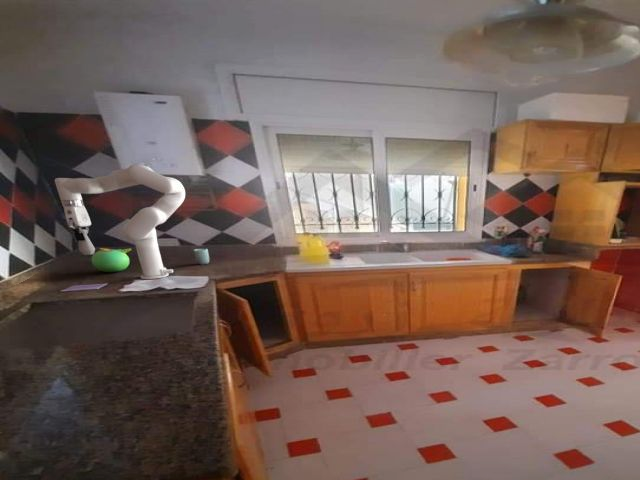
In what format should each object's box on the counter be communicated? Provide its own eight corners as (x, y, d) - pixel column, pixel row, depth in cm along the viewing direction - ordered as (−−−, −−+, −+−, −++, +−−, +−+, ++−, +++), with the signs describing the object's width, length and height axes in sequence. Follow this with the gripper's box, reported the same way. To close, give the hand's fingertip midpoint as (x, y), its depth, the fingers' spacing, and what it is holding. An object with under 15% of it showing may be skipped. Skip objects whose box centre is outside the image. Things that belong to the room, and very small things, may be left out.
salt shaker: (85, 255, 165) (77, 230, 161) (77, 254, 166) (69, 229, 162) (99, 253, 170) (91, 229, 166) (91, 252, 171) (83, 228, 167)
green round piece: (90, 273, 188) (82, 248, 184) (125, 267, 203) (118, 244, 198) (104, 276, 181) (96, 251, 176) (140, 270, 195) (133, 246, 191)
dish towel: (107, 284, 166) (107, 283, 166) (97, 289, 158) (96, 288, 157) (73, 286, 162) (72, 285, 162) (60, 292, 153) (59, 291, 153)
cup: (212, 263, 215) (209, 249, 212) (200, 265, 209) (196, 250, 206) (207, 262, 219) (204, 248, 216) (194, 264, 213) (191, 249, 210)
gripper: (71, 204, 154) (83, 242, 159) (92, 203, 169) (102, 237, 174) (51, 204, 151) (63, 242, 157) (74, 203, 166) (85, 238, 172)
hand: (84, 239), depth 166 cm, fingers closed on salt shaker, 4 cm apart
